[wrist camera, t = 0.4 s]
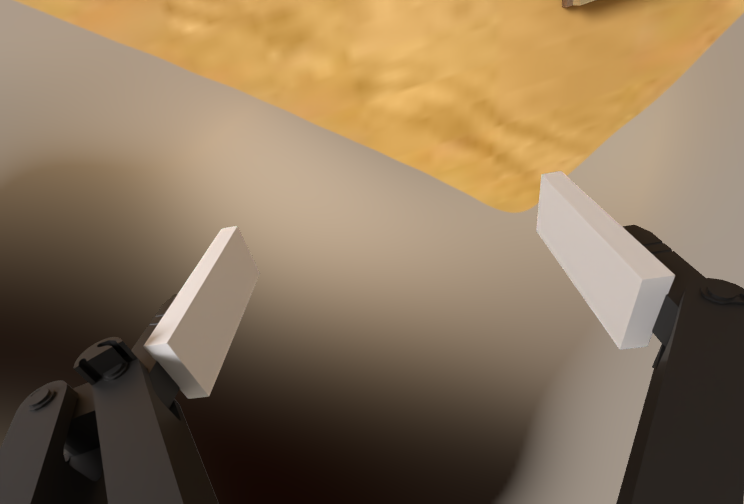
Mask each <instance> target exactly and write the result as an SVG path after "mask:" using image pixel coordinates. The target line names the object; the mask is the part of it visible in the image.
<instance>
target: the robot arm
mask: <svg viewBox="0 0 744 504" xmlns="http://www.w3.org/2000/svg"><path fill="white" fill-rule="evenodd" d="M536 231H537V233H538V234H539V235H540V237H541V238H542V240H543V241H544V242H545V244H546V245H547V247H548V248H549V250H550V251H551V253H552V254H553V255H554V257H555V258H556V260H557V261H558V263H559V264H560V265H561V267H562V268H563V270H564V271H565V272H566V274H567V275H568V277H569V278H570V280H571V281H572V282H573V284H574V285H575V287H576V288H577V289H578V291H579V292H580V294H581V295H582V297H583V298H584V300H585V301H586V302H587V304H588V305H589V306H590V308H591V309H592V311H593V312H594V313H595V315H596V317H597V318H598V319H599V321H600V322H601V324H602V325H603V326H604V328H605V329H606V331H607V332H608V334H609V335H610V337H611V338H612V339H613V341H614V342H615V344H616V345H617V346H618V348H619V349H620V350H621V349H631V348H640V347H647V346H648V344H649V341H650V339H651V336H652V334H653V333H654V334H655V336H656V337H657V338H658V339H659V340H660V342H661V343H662V345H661V347H660V350H659V352H658V355H657V357H656V359H655V361H654V364H653V366H652V367H653V368H654V371H653V374H652V378H651V381H650V385H649V389H648V392H647V396H646V399H645V403H644V406H643V410H642V414H641V417H640V421H639V424H638V428H637V432H636V435H635V439H634V442H633V446H632V450H631V454H630V457H629V460H628V464H627V467H626V471H625V475H624V478H623V482H622V485H621V489H620V493H619V496H618V500H617V503H616V504H743V496H744V289H743V288H742V287H740V286H738V285H736V284H733V283H730V282H727V281H724V280H719V279H711V278H705V277H704V276H702V274H700V273H699V272H698V271H697V270H696V269H694V268H693V267H692V266H691V265H689V264H688V263H687V262H686V261H684V259H682V258H681V257H680V256H679V255H678V254H676V253H675V252H674V251H673V252H672V250H671V248H669V247H668V246H667V245H665V244H663V243H662V241H661V240H660V239H658V238H657V237H656V236H655V235H654V234H653V233H651V232H650V231H647V230H644V229H643V228H641V227H638V226H636V225H631V226H623V227H622V226H621V225H620V224H618V222H616V221H615V220H614V219H613V218H612V217H611V216H610V215H609V214H608V213H607V212H605V211H604V210H603V209H602V208H601V207H600V206H599V205H598V204H597V203H596V202H594V201H593V200H592V199H591V198H590V197H589V196H587V194H586V193H585V192H584V191H583V190H581V189H580V188H579V187H578V186H577V185H576V184H575V183H574V182H573V181H572V180H570V179H569V178H568V177H567V176H566V175H565V174H564V173H563V172H562V171H558V172H552V173H546V174H541V185H540V196H539V207H538V218H537V230H536ZM259 274H260V272H259V270H258V268H257V266H256V263H255V261H254V260H253V257H252V255H251V253H250V251H249V249H248V247H247V245H246V243H245V241H244V238H243V236H242V234H241V232H240V230H239V228H238V226H234V227H228V228H222V229H221V230H220V232H219V233H218V235H217V236H216V238H215V239H214V241H213V242H212V244H211V245H210V247H209V248H208V250H207V251H206V253H205V254H204V256H203V257H202V259H201V260H200V262H199V263H198V265H197V266H196V268H195V269H194V271H193V272H192V274H191V275H190V277H189V278H188V280H187V281H186V283H185V284H184V286H183V287H182V289H181V290H180V292H179V293H178V294H176V295H173V296H172V297H171V298H170V299H169V300H167V301H166V302H165V303H164V304H163V305H162V306H161V308H160V309H159V311H158V312H157V314H156V315H155V316H156V317H154V318H153V320H152V321H151V322H150V326H148V327H147V328H146V330H145V331H144V333H143V334H142V336H141V337H140V338H139V340H138V341H137V343H136V344H135V346H134V347H133V348H132V350H130V349H129V348H128V347H127V345H126V344H125V343H124V342H123V341H122V340H121V339H120V338H118V337H111V338H106V339H104V340H101V341H99V342H97V343H95V344H94V345H92V346H91V347H89V348H88V349H87V350H86V351H84V352H83V353H82V354H81V355H80V356H79V358H78V359H77V360H76V362H75V365H74V370H75V371H77V372H78V373H79V374H80V375H81V376H82V377H83V378H84V379H85V380H87V382H89V383H86V384H84V385H81V386H79V387H76V388H74V389H72V388H71V387H70V386H69V385H68V384H66V383H65V382H64V381H54V382H51V383H48V384H46V385H44V386H43V387H41V388H38V389H37V390H35V392H33V393H31V394H30V395H29V396H28V397H27V398H26V399H25V401H23V402H22V404H21V405H20V407H19V408H18V410H17V411H16V414H15V416H14V419H13V421H12V423H11V425H10V428H9V430H8V432H7V435H6V437H5V440H4V442H3V444H2V446H1V448H0V504H219V503H218V501H217V498H216V496H215V493H214V491H213V488H212V486H211V483H210V480H209V478H208V476H207V473H206V470H205V468H204V465H203V463H202V460H201V458H200V455H199V453H198V450H197V448H196V445H195V443H194V440H193V437H192V435H191V432H190V430H189V427H188V425H187V423H186V420H185V417H184V415H183V412H182V410H181V407H180V405H179V404H178V402H177V401H176V400H175V396H176V395H177V392H178V391H179V389H180V390H181V391H182V392H183V393H184V394H185V396H186V397H187V398H188V399H190V398H198V397H207V396H209V395H210V393H211V390H212V388H213V385H214V383H215V381H216V378H217V376H218V373H219V371H220V369H221V366H222V364H223V361H224V359H225V356H226V354H227V352H228V349H229V347H230V344H231V342H232V340H233V337H234V335H235V332H236V330H237V327H238V325H239V323H240V320H241V318H242V316H243V313H244V311H245V308H246V306H247V304H248V301H249V299H250V296H251V294H252V291H253V289H254V287H255V284H256V282H257V279H258V277H259ZM63 452H64V453H65V454H64V455H63Z"/></svg>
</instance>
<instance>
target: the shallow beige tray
mask: <svg viewBox="0 0 744 504" xmlns="http://www.w3.org/2000/svg"><path fill="white" fill-rule="evenodd" d="M592 1H595V0H562V7H569V6H572V5H583V4H586V3H589V2H592Z"/></svg>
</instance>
